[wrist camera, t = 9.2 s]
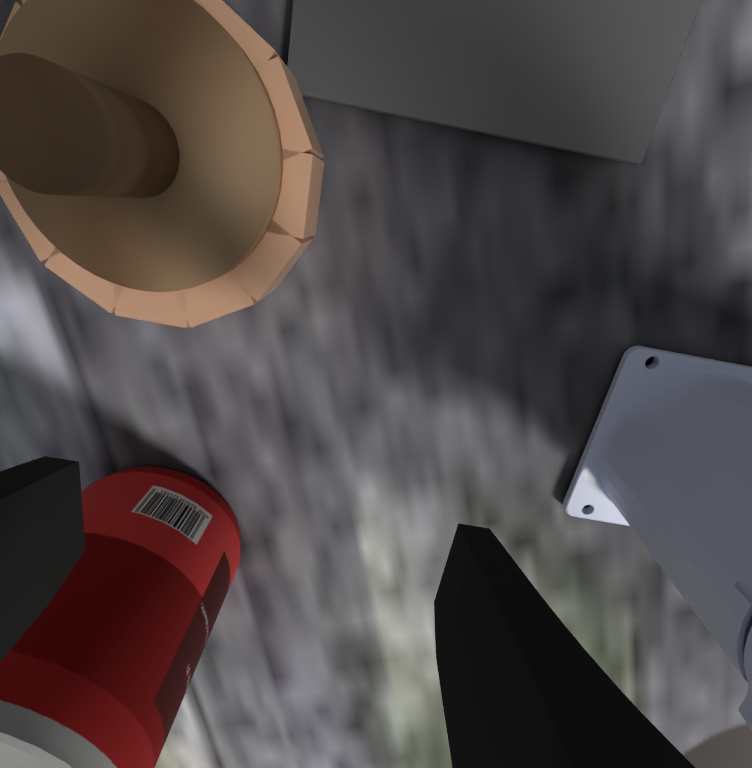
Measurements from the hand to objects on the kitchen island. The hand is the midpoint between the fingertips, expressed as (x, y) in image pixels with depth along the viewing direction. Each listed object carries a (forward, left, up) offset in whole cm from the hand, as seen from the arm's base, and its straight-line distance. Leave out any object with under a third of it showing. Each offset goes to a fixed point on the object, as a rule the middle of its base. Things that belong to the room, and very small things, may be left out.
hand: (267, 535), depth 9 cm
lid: (+6, -6, -7) cm, 11 cm away
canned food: (+7, +10, -11) cm, 16 cm away
